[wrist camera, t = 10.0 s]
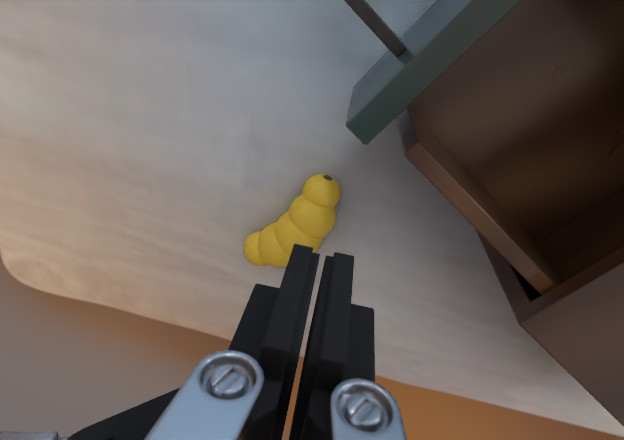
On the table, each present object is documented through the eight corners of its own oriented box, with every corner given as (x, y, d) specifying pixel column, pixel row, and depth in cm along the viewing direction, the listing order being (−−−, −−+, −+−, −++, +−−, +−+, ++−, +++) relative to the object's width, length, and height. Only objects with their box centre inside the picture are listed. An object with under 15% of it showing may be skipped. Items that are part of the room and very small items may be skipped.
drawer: (283, 15, 24) (240, 21, 16) (492, -241, 18) (583, -426, 10) (516, 256, 29) (571, 352, 21) (736, 110, 23) (924, 166, 15)
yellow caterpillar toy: (279, 271, 33) (270, 298, 30) (241, 238, 32) (228, 263, 29) (363, 199, 29) (362, 222, 26) (322, 160, 28) (316, 179, 25)
